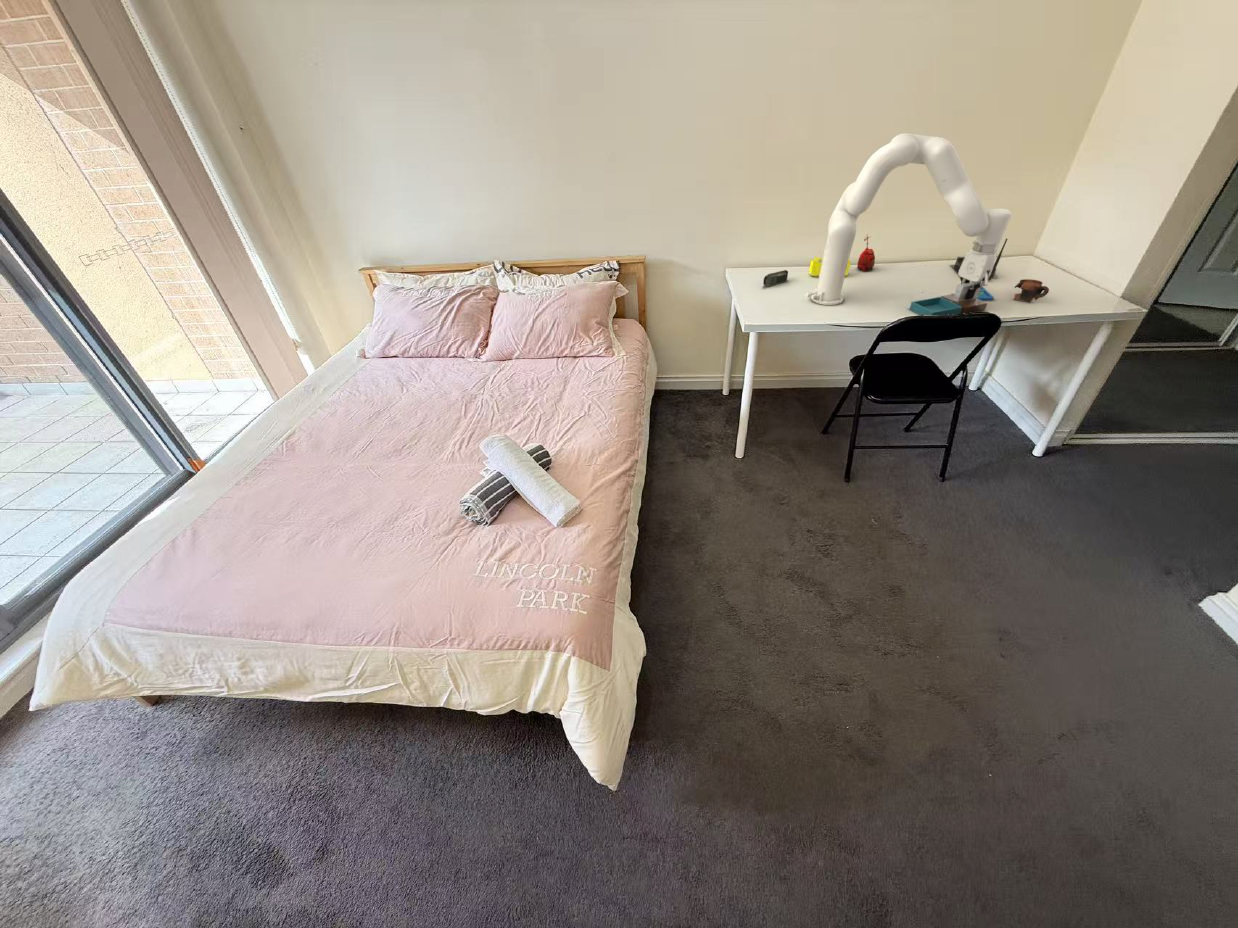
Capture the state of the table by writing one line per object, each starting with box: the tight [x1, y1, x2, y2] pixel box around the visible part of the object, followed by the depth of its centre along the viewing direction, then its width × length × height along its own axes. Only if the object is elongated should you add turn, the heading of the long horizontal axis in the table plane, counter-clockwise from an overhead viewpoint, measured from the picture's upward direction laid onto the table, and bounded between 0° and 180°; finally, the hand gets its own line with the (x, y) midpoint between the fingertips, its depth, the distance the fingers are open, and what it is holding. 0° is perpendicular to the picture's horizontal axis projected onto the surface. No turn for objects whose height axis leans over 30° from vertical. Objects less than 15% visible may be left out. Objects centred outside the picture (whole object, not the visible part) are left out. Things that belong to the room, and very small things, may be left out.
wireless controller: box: [950, 238, 1008, 281], centre depth 211 cm, size 20×14×17 cm
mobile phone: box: [762, 269, 789, 289], centre depth 218 cm, size 5×3×15 cm
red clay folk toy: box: [856, 234, 876, 273], centre depth 222 cm, size 8×7×15 cm
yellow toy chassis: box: [808, 257, 852, 278], centre depth 221 cm, size 16×6×8 cm, turn 83°
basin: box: [908, 296, 963, 316], centre depth 188 cm, size 13×11×3 cm
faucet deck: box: [940, 292, 988, 315], centre depth 190 cm, size 13×13×3 cm
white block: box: [952, 281, 983, 302], centre depth 187 cm, size 8×3×6 cm, turn 103°
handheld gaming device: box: [977, 286, 995, 301], centre depth 200 cm, size 8×1×15 cm
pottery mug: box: [1013, 278, 1050, 303], centre depth 192 cm, size 12×10×8 cm
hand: (965, 296), depth 188 cm, fingers closed on white block, 2 cm apart
